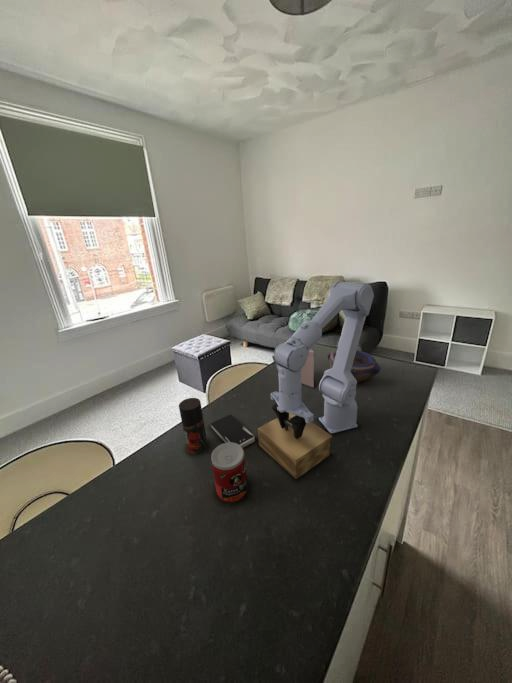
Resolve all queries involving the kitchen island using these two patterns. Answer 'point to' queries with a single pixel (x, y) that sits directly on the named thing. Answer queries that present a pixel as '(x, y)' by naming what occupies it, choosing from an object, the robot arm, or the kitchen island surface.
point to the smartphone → (232, 431)
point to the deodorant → (193, 425)
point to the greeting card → (308, 370)
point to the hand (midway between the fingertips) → (291, 431)
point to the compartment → (287, 462)
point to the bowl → (360, 365)
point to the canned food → (229, 471)
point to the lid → (289, 443)
